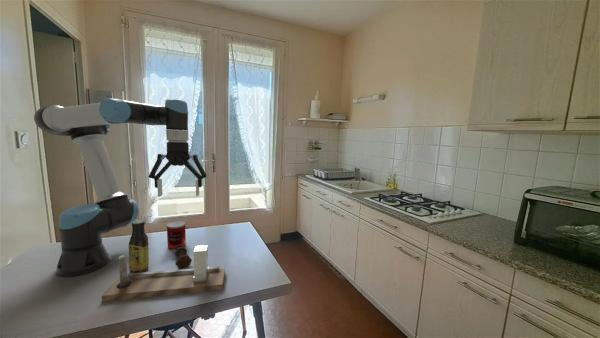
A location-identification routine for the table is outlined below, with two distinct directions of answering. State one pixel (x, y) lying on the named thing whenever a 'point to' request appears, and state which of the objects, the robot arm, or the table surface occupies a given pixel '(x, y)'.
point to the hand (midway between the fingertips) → (179, 195)
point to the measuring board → (160, 283)
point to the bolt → (182, 257)
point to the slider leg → (200, 263)
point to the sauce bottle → (138, 248)
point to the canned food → (176, 234)
